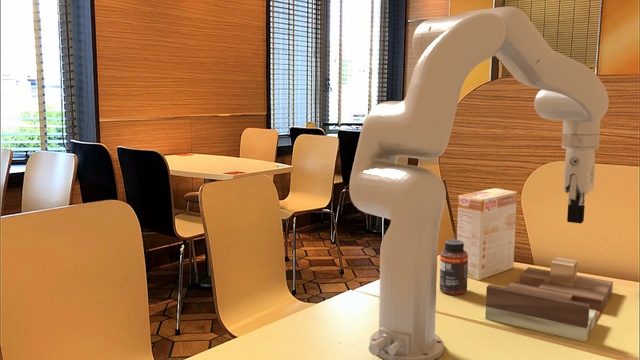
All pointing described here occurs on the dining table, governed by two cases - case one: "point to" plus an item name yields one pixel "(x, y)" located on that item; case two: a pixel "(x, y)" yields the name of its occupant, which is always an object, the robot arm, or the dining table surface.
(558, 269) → the maple block
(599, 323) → the dining table surface
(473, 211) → the coffeecake box
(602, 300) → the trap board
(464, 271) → the supplement bottle
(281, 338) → the dining table surface
